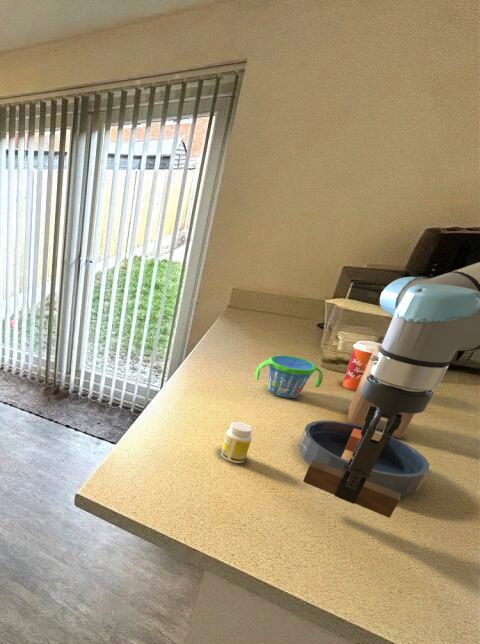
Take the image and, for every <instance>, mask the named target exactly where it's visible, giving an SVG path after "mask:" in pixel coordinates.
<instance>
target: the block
mask: <svg viewBox="0 0 480 644" xmlns="http://www.w3.org/2000/svg"><path fill="white" fill-rule="evenodd" d="M380 347H381V345H377V346H376V347H375V348H374V350H373V353H372V355H374V356H378V353H379V351H380ZM372 355H371V356H372ZM374 363H375V362H374V361H371V360H369V362H368V364H367V367H366V369H365V371H364V374H363V376H362V378H361V381H360V383H359V385H358V388H357V390H356V391H355V393H354V395H353V398H352V400H351V402H350V404H349V407H348V416H347V417H348V418H347V421H348V422H347V423H351V424H356V425H360V426H363V425H364V422H365V417H366V415H367V411H368V409H369V407H370V405H371V406H374V404H372V403H369V402H368V401H366V400H365V399H363V398H362V396H361V394H360V392H361V390H362V387H363V385H364V383H365V381H366V378H367V377H368V376H370V375H372V374H371V373H370V371H371V368H372V366H373V364H374ZM374 407H375V406H374ZM399 414H403V415H402V418H401V420H402V421H401V423H400V425H399V427H398V429H397V430H395V431H394V432H393V435H392V437H394V438H396V439H401V438H402V437H404V436H405V434H406V431H407V429H408V428H409V425H410V424H411V422H412V420H413V418H414V416H415V414H408V413H399Z"/></svg>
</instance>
